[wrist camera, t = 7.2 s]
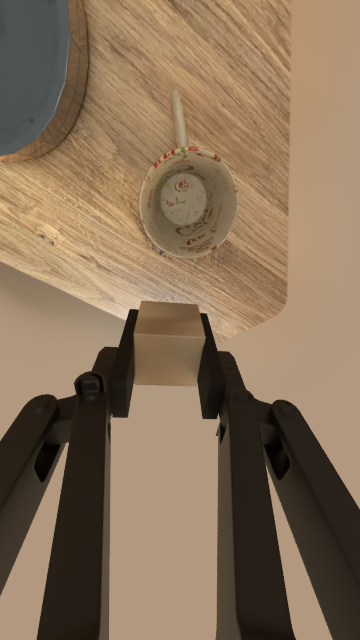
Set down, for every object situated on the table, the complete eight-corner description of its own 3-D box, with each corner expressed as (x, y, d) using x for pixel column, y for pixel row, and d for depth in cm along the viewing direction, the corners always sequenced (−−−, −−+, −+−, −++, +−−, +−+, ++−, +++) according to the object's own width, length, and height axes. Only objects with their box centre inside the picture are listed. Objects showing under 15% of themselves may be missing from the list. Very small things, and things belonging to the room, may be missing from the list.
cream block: (198, 303, 16) (206, 337, 12) (191, 348, 18) (196, 387, 15) (140, 300, 16) (133, 333, 12) (140, 345, 18) (134, 385, 14)
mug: (157, 241, 30) (152, 266, 21) (129, 117, 23) (105, 80, 15) (220, 229, 29) (241, 249, 21) (210, 98, 22) (234, 48, 14)
